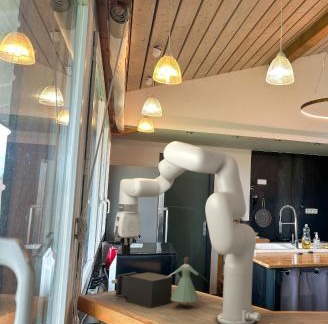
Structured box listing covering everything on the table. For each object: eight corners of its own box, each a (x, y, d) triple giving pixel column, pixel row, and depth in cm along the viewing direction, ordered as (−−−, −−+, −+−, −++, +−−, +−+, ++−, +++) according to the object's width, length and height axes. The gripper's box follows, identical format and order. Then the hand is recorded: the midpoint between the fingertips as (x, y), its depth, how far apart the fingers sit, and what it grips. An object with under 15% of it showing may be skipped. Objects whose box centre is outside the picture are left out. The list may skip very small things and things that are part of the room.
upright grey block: (126, 301, 144) (128, 275, 145) (146, 296, 153) (148, 272, 153) (151, 307, 137) (152, 281, 138) (171, 302, 145) (172, 276, 146)
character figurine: (209, 304, 144) (211, 255, 146) (207, 310, 136) (209, 259, 137) (167, 303, 144) (170, 254, 145) (162, 309, 135) (165, 257, 137)
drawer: (107, 293, 152) (109, 273, 152) (125, 289, 159) (127, 270, 160) (137, 300, 142) (138, 279, 143) (154, 296, 149) (155, 276, 150)
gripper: (118, 209, 148) (116, 257, 147) (148, 209, 161) (146, 253, 159) (106, 208, 153) (103, 255, 151) (136, 208, 165) (134, 252, 163)
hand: (125, 254), depth 155 cm, fingers closed
